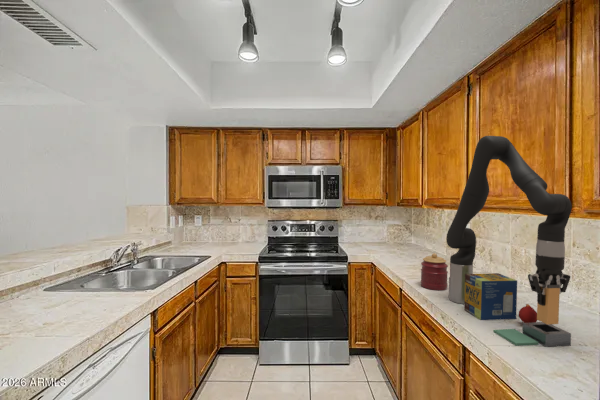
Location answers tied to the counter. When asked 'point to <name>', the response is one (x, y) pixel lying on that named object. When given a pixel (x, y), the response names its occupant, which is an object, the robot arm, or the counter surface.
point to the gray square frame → (547, 334)
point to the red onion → (528, 314)
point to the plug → (549, 305)
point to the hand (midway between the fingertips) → (547, 304)
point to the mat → (515, 337)
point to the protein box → (490, 296)
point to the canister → (434, 273)
